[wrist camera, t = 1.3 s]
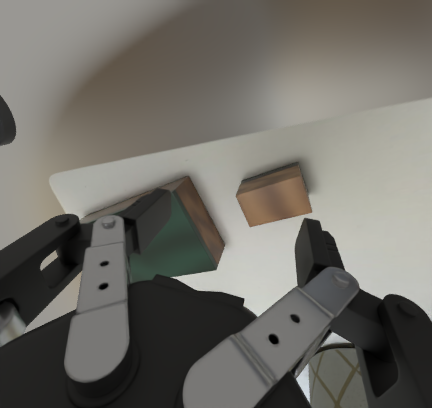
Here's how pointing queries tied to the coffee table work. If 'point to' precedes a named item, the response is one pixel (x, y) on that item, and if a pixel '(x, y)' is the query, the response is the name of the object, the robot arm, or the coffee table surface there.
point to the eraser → (274, 196)
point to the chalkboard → (175, 236)
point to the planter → (336, 380)
